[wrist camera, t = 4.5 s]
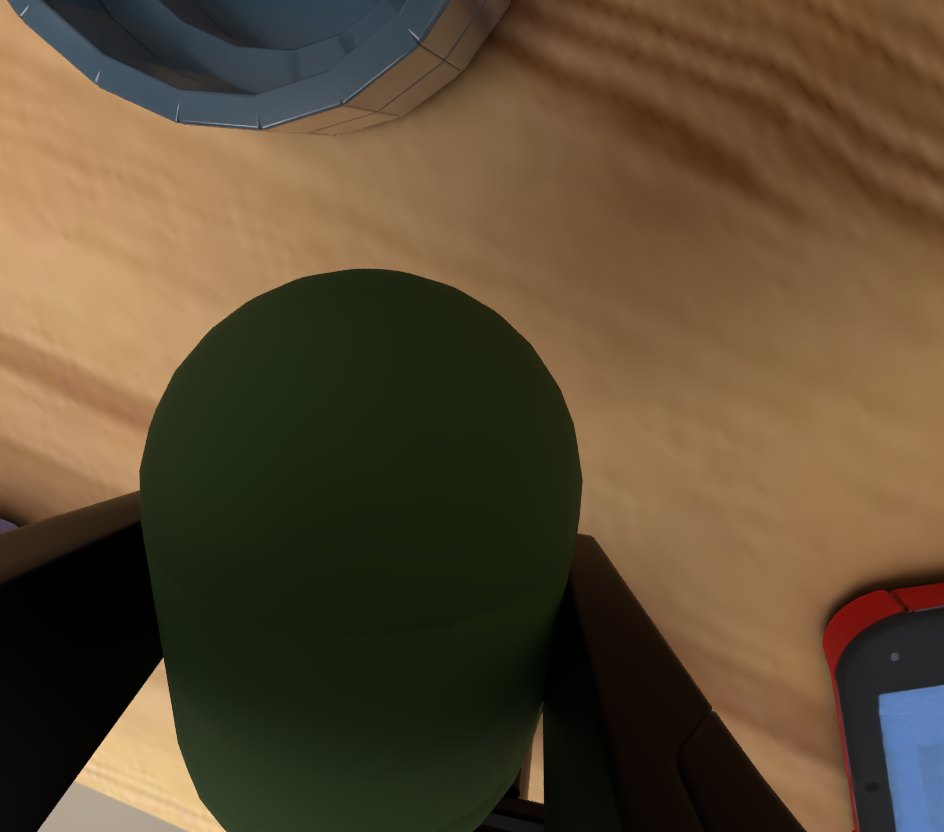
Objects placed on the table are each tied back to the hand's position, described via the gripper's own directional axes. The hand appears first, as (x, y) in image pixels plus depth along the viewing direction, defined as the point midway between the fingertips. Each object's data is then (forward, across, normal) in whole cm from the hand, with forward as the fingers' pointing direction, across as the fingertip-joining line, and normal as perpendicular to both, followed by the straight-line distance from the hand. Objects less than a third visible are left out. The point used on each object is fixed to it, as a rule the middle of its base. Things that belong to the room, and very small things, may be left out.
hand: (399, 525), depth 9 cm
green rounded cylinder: (+1, 0, 0) cm, 1 cm away
